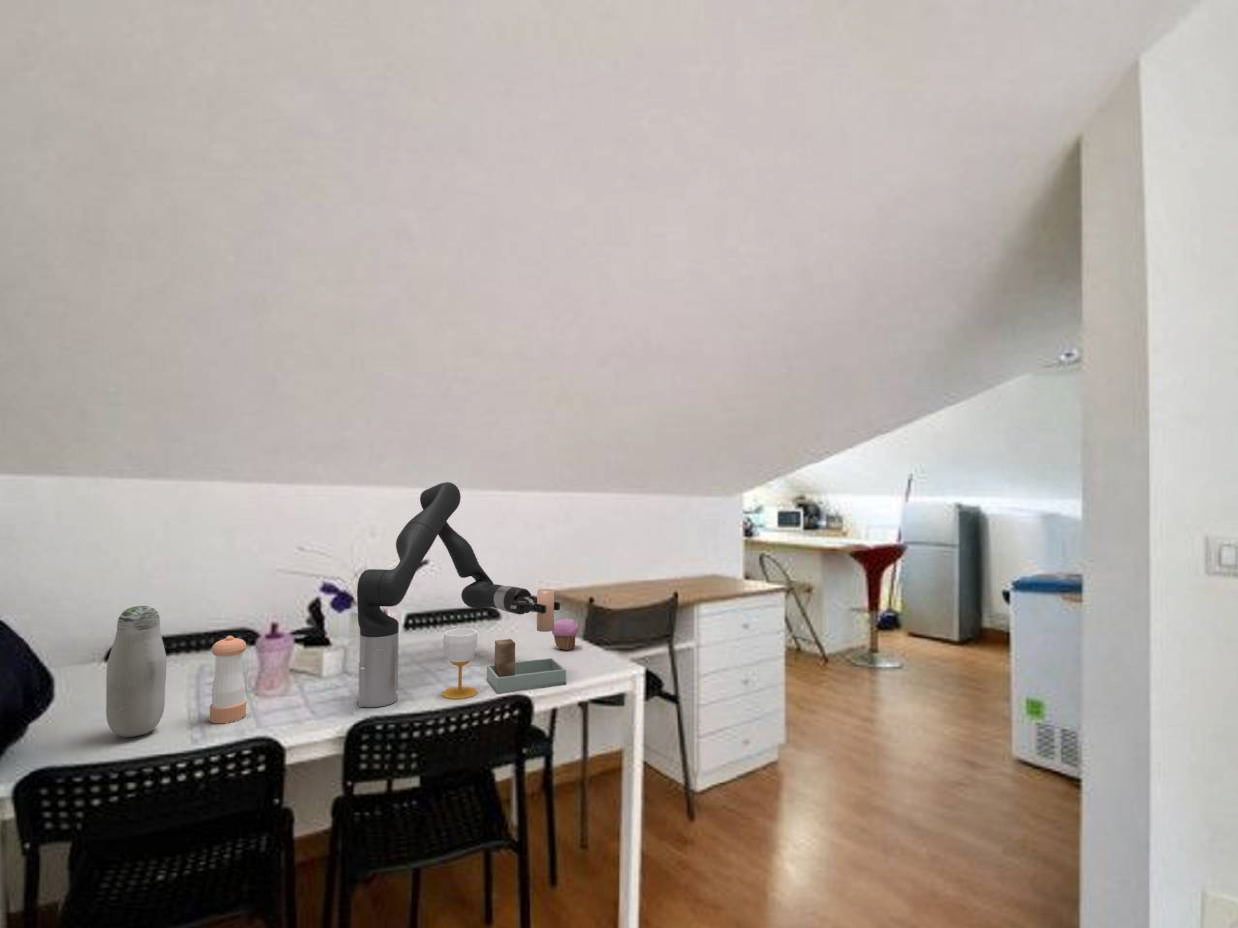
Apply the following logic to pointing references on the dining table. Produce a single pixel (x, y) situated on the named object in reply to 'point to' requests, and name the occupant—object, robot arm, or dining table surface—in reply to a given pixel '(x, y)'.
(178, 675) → the dining table surface
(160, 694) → the grey bottle
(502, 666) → the walnut block
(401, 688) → the dining table surface
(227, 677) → the salt shaker
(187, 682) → the dining table surface
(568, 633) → the cupcake
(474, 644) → the cup
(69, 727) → the dining table surface
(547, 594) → the terracotta cylinder
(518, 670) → the tray
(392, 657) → the robot arm
